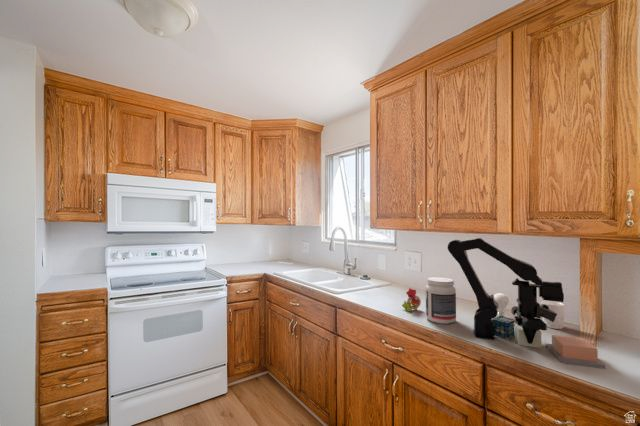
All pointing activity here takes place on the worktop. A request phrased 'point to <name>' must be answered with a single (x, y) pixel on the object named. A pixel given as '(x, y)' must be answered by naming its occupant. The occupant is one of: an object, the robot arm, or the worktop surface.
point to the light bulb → (501, 303)
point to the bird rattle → (412, 300)
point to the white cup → (559, 310)
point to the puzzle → (504, 327)
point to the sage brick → (522, 340)
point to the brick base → (575, 351)
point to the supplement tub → (440, 300)
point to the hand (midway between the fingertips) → (527, 340)
